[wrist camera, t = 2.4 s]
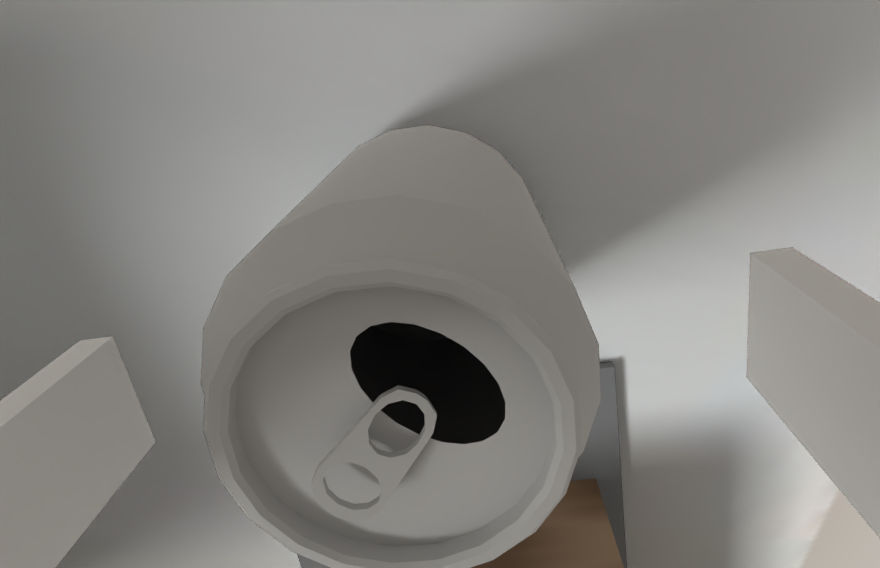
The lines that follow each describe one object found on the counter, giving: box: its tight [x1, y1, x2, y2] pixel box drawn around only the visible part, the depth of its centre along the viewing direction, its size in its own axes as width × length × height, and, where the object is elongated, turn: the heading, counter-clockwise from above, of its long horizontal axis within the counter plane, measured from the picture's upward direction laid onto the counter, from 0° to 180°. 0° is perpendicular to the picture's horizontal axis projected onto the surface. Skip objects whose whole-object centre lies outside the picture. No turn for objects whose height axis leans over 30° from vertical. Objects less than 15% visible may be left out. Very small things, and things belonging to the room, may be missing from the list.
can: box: [201, 125, 601, 568], centre depth 15 cm, size 8×8×12 cm
